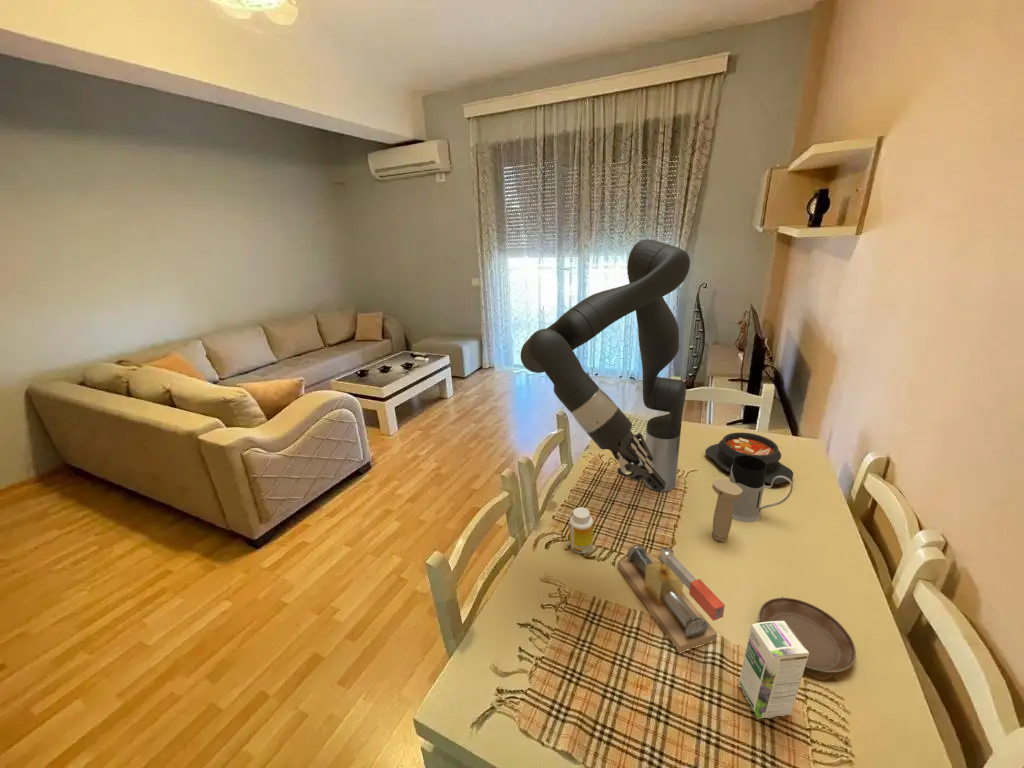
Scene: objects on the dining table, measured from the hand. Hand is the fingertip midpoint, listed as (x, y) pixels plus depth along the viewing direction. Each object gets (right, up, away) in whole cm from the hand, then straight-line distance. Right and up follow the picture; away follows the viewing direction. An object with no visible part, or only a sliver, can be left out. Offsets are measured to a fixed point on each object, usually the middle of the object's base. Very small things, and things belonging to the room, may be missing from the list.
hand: (661, 487), depth 78 cm
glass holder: (+36, -15, +32) cm, 51 cm away
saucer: (+26, -29, 0) cm, 39 cm away
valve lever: (+5, -18, 0) cm, 19 cm away
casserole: (+45, -7, +53) cm, 70 cm away
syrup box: (+14, -33, -9) cm, 37 cm away
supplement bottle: (-11, -21, +25) cm, 35 cm away
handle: (+23, -19, +25) cm, 39 cm away
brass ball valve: (+3, -25, +9) cm, 26 cm away
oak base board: (+4, -26, +10) cm, 28 cm away
